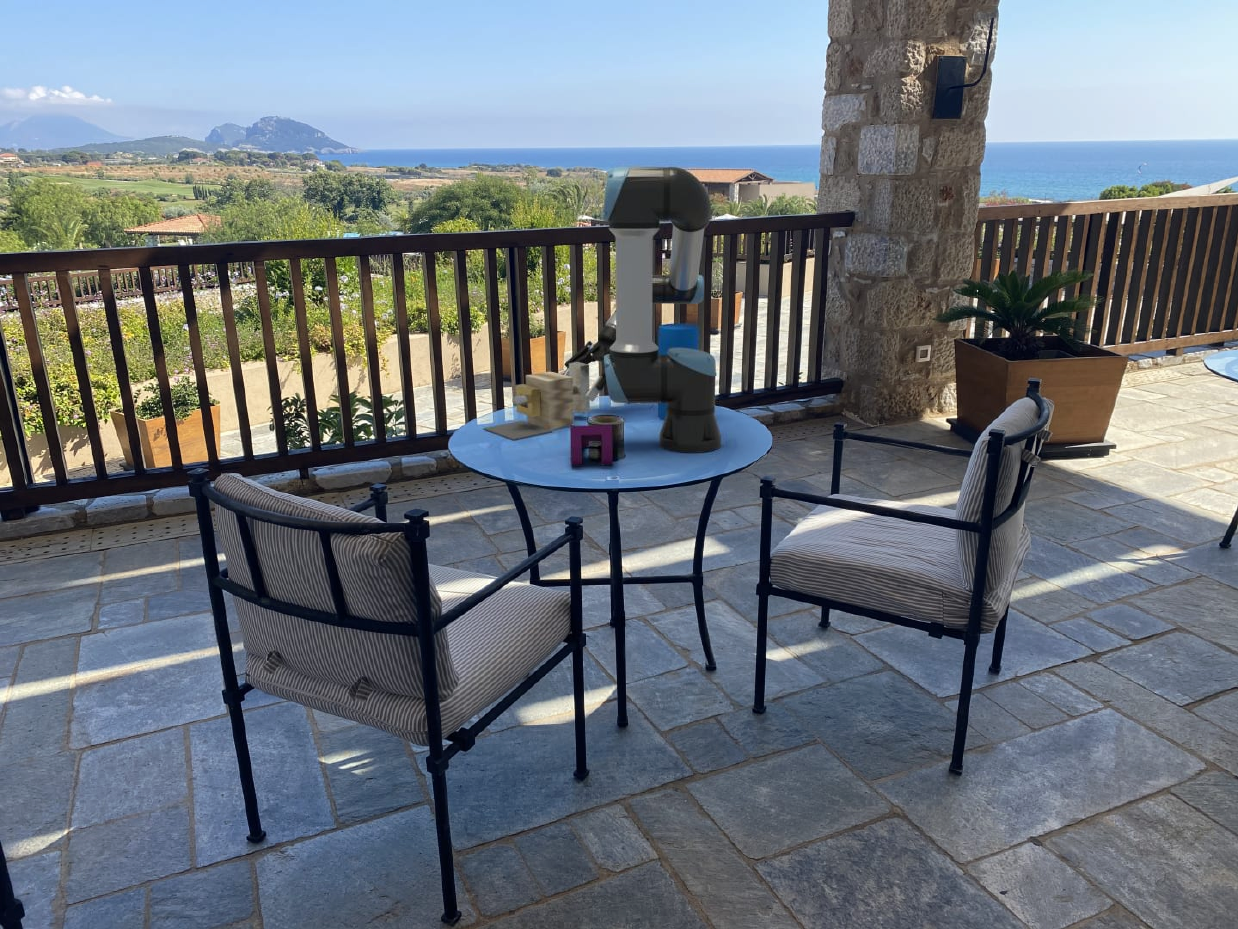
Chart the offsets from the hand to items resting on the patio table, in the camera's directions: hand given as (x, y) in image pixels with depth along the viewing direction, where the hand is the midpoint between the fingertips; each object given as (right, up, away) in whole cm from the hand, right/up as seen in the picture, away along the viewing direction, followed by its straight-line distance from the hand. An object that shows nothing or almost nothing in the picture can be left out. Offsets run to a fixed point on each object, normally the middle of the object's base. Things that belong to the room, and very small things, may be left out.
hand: (573, 394), depth 238 cm
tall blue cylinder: (+28, -6, +3) cm, 29 cm away
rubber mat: (-14, -10, -9) cm, 20 cm away
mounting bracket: (+6, -18, -31) cm, 36 cm away
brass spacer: (-11, -6, -9) cm, 15 cm away
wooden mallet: (-6, -6, -4) cm, 9 cm away
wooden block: (-6, -8, -3) cm, 11 cm away
